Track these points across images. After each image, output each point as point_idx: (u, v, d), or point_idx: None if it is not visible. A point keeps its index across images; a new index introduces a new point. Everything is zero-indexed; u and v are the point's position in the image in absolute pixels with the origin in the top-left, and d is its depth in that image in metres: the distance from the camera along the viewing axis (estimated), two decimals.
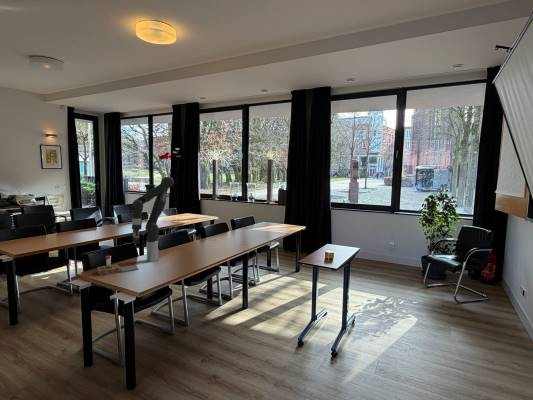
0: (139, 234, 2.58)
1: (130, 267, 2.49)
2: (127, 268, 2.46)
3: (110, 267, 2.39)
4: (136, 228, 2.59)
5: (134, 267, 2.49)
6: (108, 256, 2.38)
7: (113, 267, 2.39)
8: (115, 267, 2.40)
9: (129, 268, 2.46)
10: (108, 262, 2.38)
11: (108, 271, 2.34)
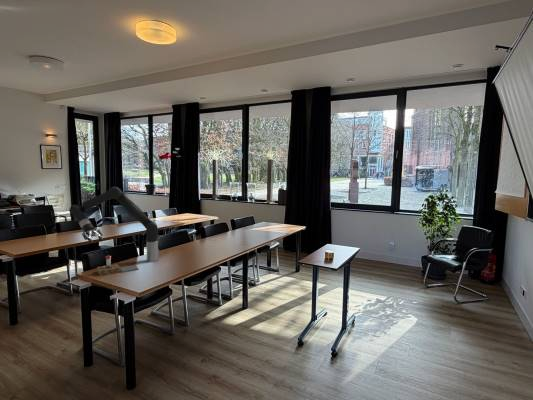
0: (84, 234, 2.38)
1: (130, 267, 2.49)
2: (127, 268, 2.46)
3: (110, 267, 2.39)
4: (84, 230, 2.42)
5: (134, 267, 2.49)
6: (108, 256, 2.38)
7: (113, 267, 2.39)
8: (115, 267, 2.40)
9: (129, 268, 2.46)
10: (108, 262, 2.38)
11: (108, 271, 2.34)
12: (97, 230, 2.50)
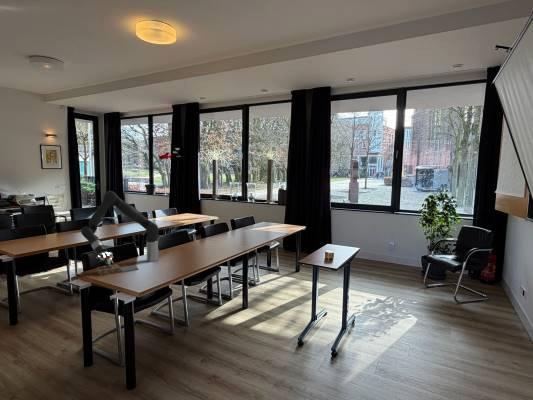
0: (99, 258, 2.35)
1: (130, 267, 2.49)
2: (127, 268, 2.46)
3: (110, 267, 2.39)
4: (96, 252, 2.39)
5: (134, 267, 2.49)
6: (108, 256, 2.38)
7: (113, 267, 2.39)
8: (115, 267, 2.40)
9: (129, 268, 2.46)
10: (108, 262, 2.38)
11: (108, 271, 2.34)
12: None
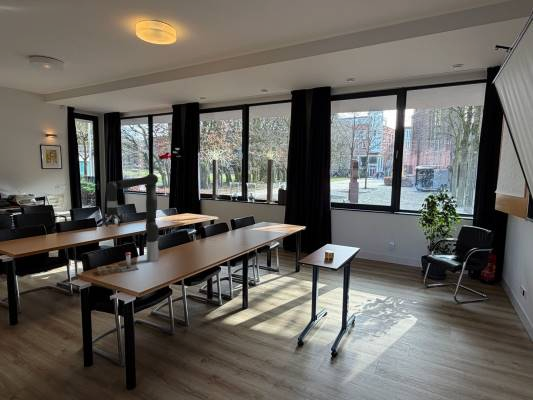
0: (103, 217, 2.50)
1: None
2: None
3: (130, 263, 2.47)
4: (107, 210, 2.53)
5: (134, 267, 2.49)
6: (128, 253, 2.46)
7: (113, 267, 2.39)
8: (115, 267, 2.40)
9: (129, 268, 2.46)
10: (128, 258, 2.45)
11: (108, 271, 2.34)
12: (120, 213, 2.58)
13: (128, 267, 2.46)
